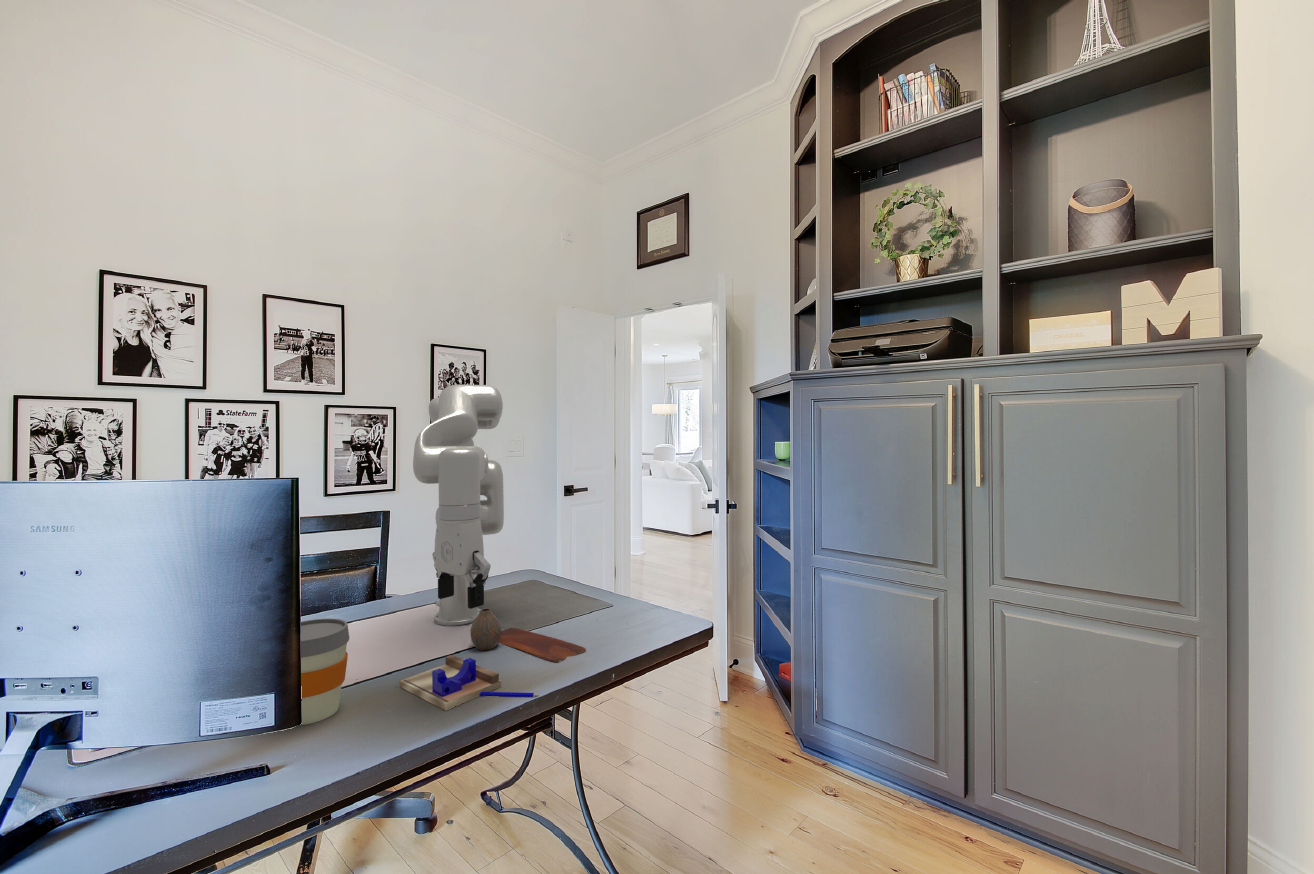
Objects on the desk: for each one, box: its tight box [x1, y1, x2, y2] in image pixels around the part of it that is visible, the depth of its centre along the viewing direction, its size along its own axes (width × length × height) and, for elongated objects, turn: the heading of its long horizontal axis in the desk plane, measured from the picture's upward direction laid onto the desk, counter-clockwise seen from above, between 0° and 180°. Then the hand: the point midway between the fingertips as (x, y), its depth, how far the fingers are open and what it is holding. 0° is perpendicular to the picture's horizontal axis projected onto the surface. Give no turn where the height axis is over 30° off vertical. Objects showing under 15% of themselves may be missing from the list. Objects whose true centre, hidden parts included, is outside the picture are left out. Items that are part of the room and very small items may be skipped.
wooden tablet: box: [498, 627, 587, 664], centre depth 135 cm, size 27×10×2 cm, turn 52°
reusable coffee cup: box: [300, 618, 350, 726], centre depth 102 cm, size 13×13×15 cm
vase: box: [469, 607, 502, 651], centre depth 133 cm, size 7×7×9 cm
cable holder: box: [432, 657, 477, 697], centre depth 109 cm, size 8×4×4 cm, turn 140°
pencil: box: [479, 691, 540, 698], centre depth 109 cm, size 17×1×1 cm, turn 87°
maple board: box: [399, 654, 502, 712], centre depth 112 cm, size 16×12×3 cm
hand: (460, 601), depth 109 cm, fingers open, 9 cm apart
